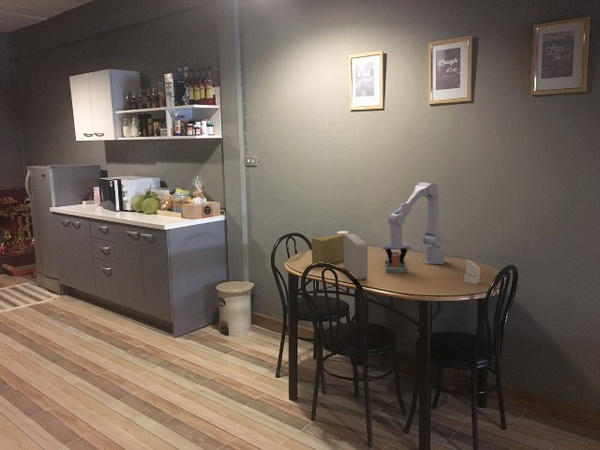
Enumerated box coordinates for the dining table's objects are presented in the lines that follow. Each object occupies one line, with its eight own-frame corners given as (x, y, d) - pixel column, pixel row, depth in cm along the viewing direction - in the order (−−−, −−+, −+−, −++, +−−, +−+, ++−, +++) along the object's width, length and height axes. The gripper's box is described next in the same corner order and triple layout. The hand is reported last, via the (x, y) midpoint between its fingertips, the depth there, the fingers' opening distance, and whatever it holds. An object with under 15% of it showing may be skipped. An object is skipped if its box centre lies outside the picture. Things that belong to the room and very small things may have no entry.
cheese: (342, 257, 289) (341, 232, 286) (353, 260, 281) (353, 234, 278) (311, 264, 276) (310, 237, 273) (322, 267, 268) (321, 239, 266)
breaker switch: (398, 259, 268) (398, 252, 267) (398, 260, 265) (398, 253, 264) (391, 259, 268) (391, 251, 268) (391, 260, 266) (391, 253, 265)
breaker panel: (404, 262, 275) (404, 255, 274) (404, 267, 264) (404, 260, 263) (385, 261, 276) (385, 255, 276) (385, 266, 266) (385, 260, 265)
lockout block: (400, 265, 260) (400, 254, 258) (399, 267, 256) (399, 256, 255) (393, 265, 261) (393, 253, 260) (391, 266, 257) (391, 255, 256)
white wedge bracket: (459, 273, 241) (468, 259, 237) (476, 286, 236) (485, 272, 231) (455, 274, 238) (464, 260, 234) (472, 288, 233) (482, 274, 229)
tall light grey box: (372, 280, 242) (372, 243, 239) (356, 281, 241) (356, 244, 238) (357, 265, 270) (357, 232, 267) (343, 266, 269) (343, 233, 266)
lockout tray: (405, 267, 263) (405, 263, 263) (406, 272, 253) (406, 268, 253) (386, 267, 265) (386, 263, 264) (385, 272, 255) (385, 268, 254)
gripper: (408, 235, 260) (408, 260, 262) (380, 236, 260) (380, 261, 262) (412, 237, 253) (411, 264, 255) (383, 238, 253) (383, 265, 255)
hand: (396, 263), depth 258 cm, fingers closed on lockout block, 5 cm apart
